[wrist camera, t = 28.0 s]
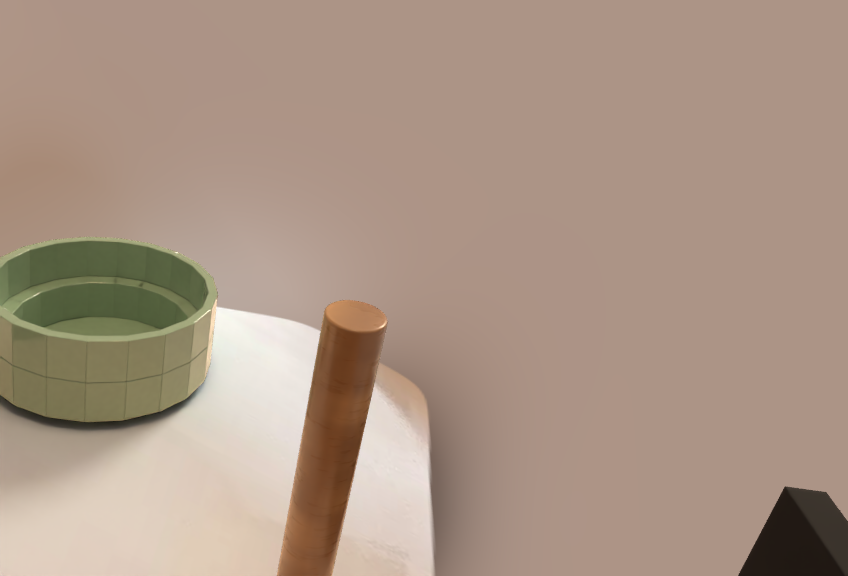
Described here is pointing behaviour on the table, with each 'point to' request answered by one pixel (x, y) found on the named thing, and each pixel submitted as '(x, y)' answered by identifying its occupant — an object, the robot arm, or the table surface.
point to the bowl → (103, 328)
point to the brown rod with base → (332, 436)
